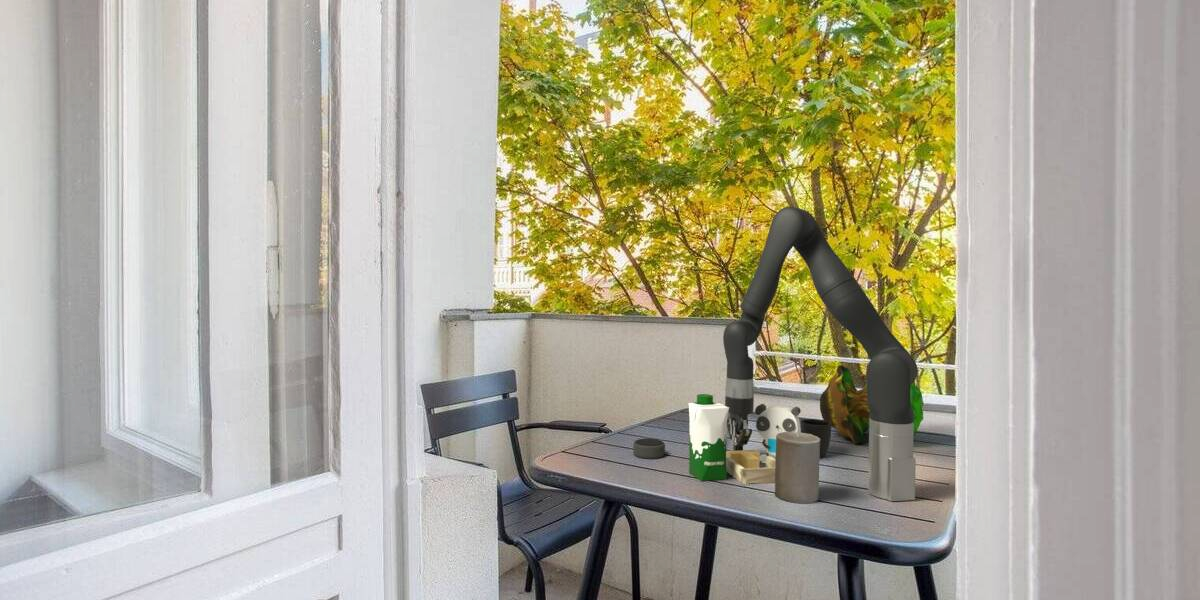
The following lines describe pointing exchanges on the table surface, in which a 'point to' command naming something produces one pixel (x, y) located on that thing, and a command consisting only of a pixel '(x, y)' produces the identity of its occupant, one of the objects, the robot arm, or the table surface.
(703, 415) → the milk carton
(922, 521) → the table surface
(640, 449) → the smart speaker
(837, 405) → the decorative tree
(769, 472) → the beige shallow open box
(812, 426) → the mug
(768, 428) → the panda figurine
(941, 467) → the table surface
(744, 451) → the yellow cheese wedge
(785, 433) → the pillar candle
